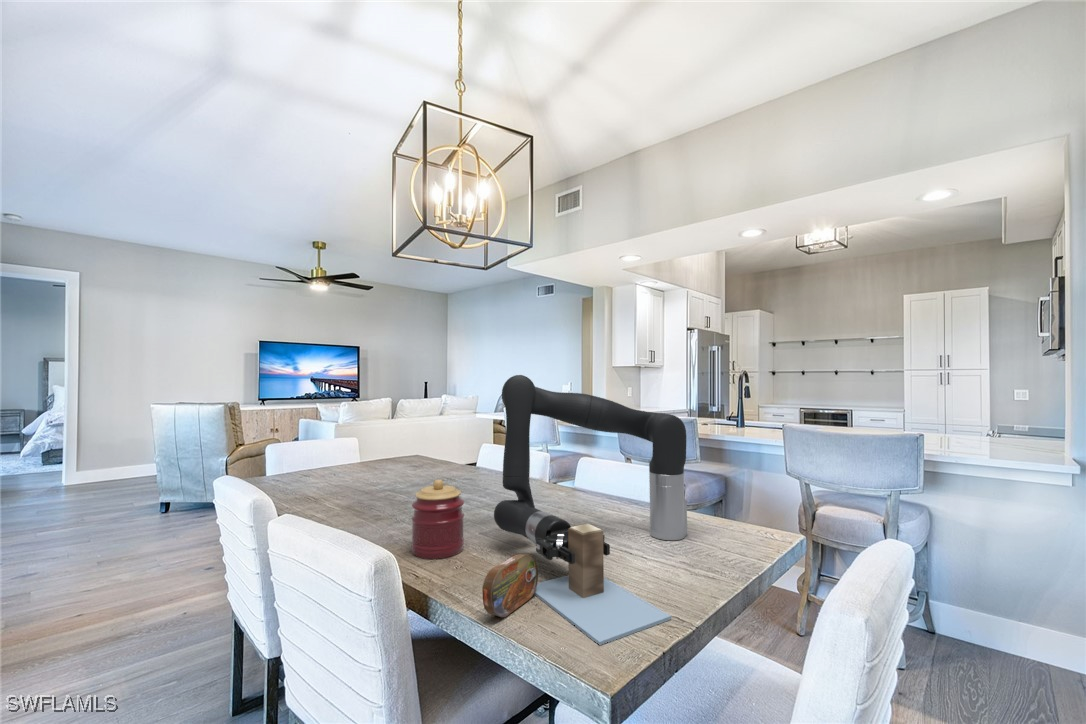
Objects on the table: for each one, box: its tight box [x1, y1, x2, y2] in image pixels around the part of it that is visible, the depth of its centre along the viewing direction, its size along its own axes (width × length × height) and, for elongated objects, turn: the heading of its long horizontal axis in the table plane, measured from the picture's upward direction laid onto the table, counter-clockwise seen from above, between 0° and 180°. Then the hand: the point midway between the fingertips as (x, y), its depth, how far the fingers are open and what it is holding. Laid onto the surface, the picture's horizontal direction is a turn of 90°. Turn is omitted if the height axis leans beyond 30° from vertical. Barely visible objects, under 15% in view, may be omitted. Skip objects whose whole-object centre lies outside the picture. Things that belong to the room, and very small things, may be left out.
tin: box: [482, 553, 539, 618], centre depth 88 cm, size 15×3×8 cm, turn 148°
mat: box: [533, 574, 672, 646], centre depth 89 cm, size 16×24×1 cm, turn 31°
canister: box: [410, 479, 465, 560], centre depth 118 cm, size 13×13×18 cm
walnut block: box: [568, 523, 605, 598], centre depth 93 cm, size 5×5×12 cm
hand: (591, 554), depth 92 cm, fingers open, 8 cm apart
